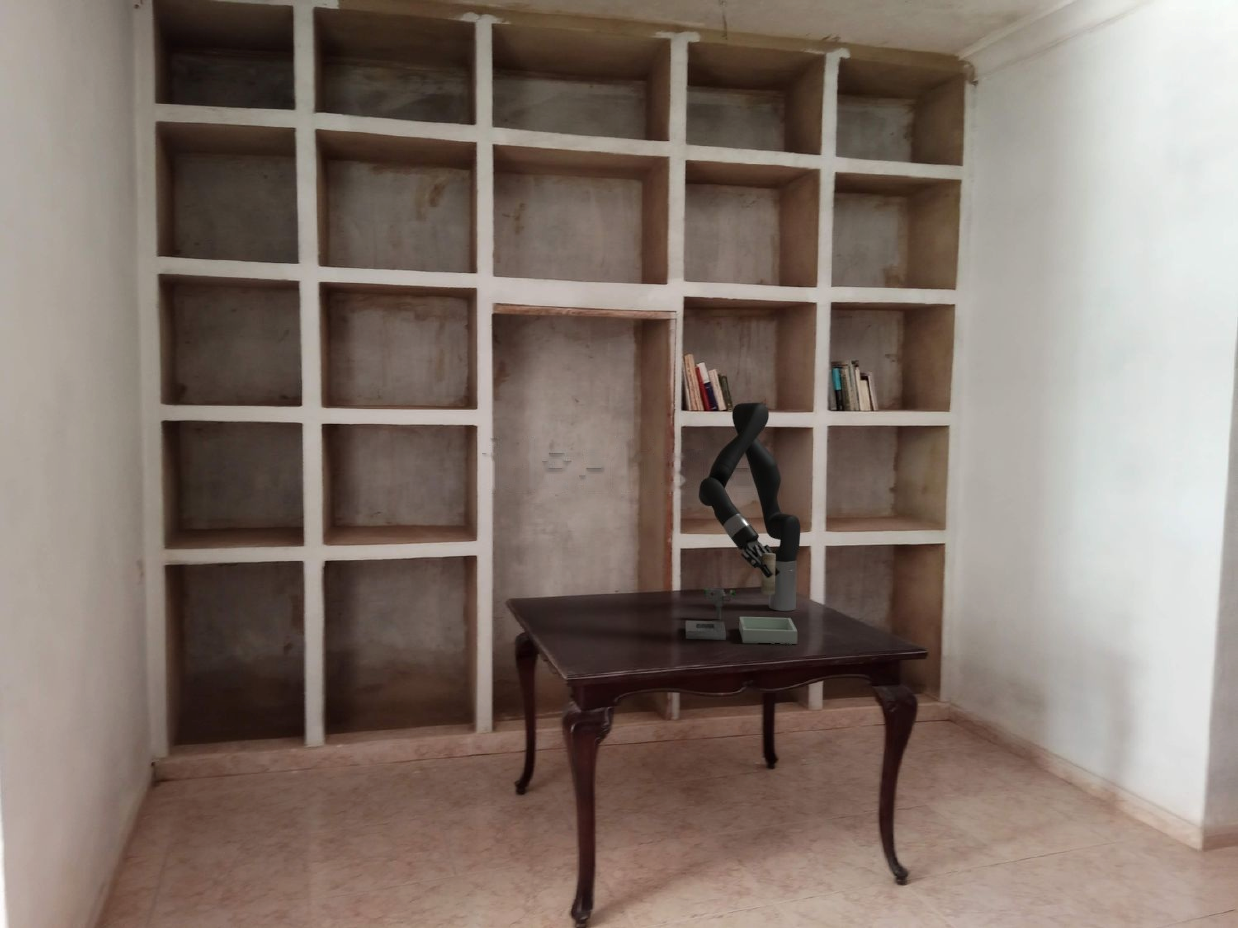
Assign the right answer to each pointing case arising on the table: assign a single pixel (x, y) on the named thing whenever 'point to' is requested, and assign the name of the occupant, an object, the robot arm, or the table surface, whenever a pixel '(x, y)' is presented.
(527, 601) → the table surface
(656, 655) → the table surface
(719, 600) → the mechanical component
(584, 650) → the table surface
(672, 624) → the table surface
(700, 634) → the socket block
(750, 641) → the tray
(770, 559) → the dowel
